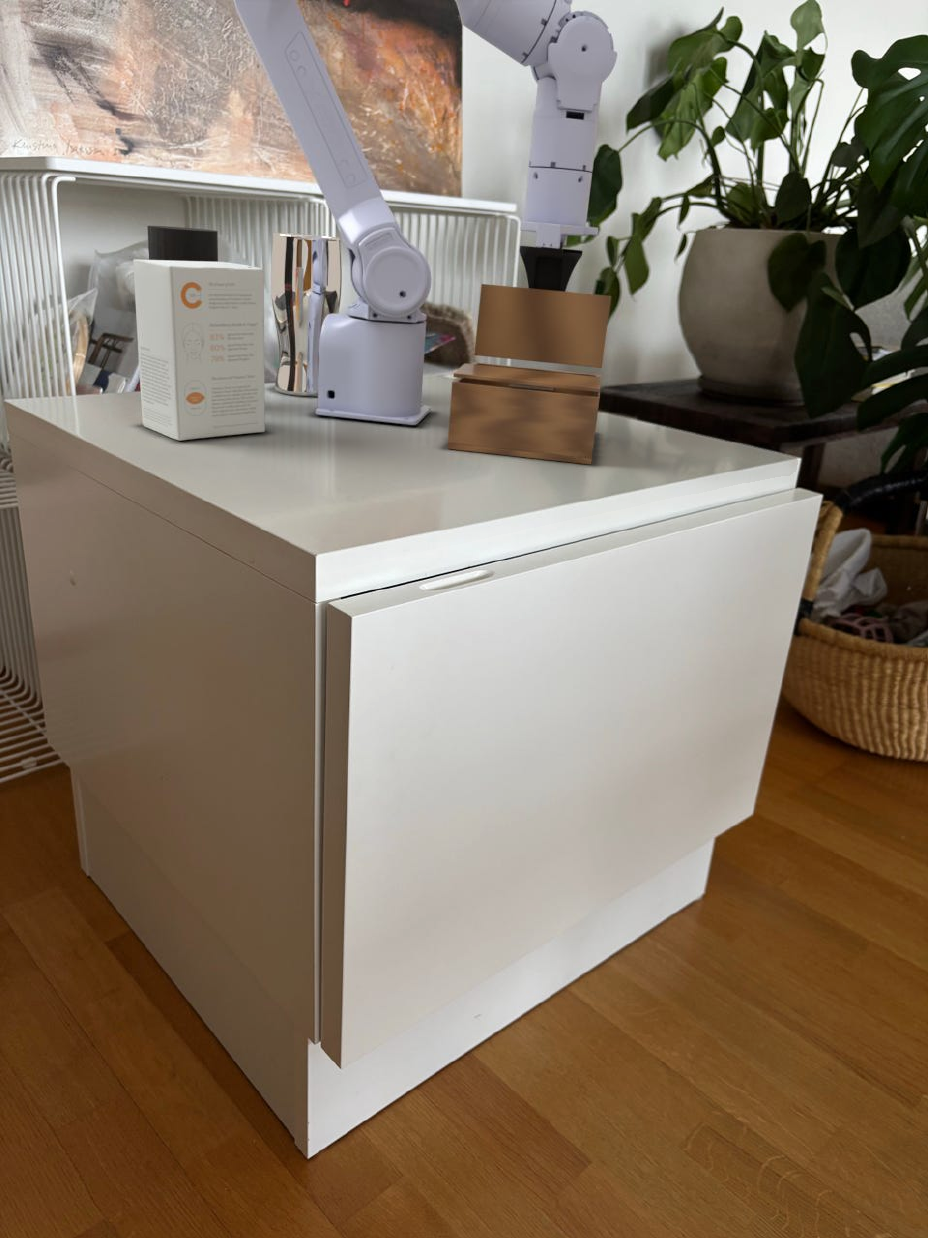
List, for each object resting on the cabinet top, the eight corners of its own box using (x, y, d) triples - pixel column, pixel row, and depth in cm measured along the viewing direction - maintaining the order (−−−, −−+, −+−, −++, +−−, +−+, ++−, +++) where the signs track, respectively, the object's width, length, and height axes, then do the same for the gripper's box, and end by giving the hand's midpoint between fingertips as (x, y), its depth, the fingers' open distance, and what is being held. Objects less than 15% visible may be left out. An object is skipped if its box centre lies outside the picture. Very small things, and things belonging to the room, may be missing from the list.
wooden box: (447, 448, 81) (452, 373, 78) (468, 420, 93) (473, 354, 90) (590, 464, 80) (600, 388, 77) (593, 433, 91) (602, 367, 89)
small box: (226, 418, 85) (224, 260, 80) (266, 433, 81) (266, 267, 76) (139, 425, 79) (131, 257, 74) (177, 442, 75) (170, 264, 70)
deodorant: (200, 392, 95) (196, 227, 89) (232, 404, 91) (230, 232, 85) (143, 396, 91) (135, 224, 85) (173, 408, 87) (167, 228, 81)
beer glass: (325, 400, 96) (329, 238, 90) (259, 392, 97) (259, 232, 92) (347, 389, 103) (352, 238, 97) (285, 382, 104) (286, 232, 98)
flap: (481, 283, 89) (481, 284, 89) (474, 354, 90) (474, 355, 90) (611, 295, 88) (611, 296, 88) (601, 367, 89) (601, 367, 89)
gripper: (604, 169, 79) (583, 340, 84) (605, 178, 92) (587, 325, 98) (519, 162, 80) (503, 332, 85) (532, 172, 93) (517, 318, 98)
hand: (543, 328), depth 91 cm, fingers closed
